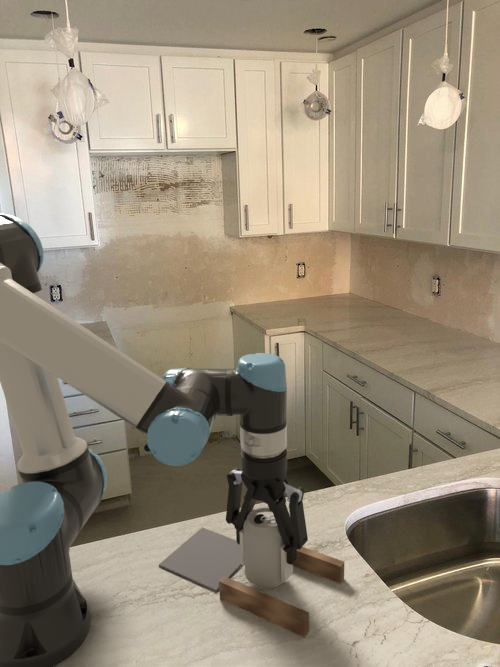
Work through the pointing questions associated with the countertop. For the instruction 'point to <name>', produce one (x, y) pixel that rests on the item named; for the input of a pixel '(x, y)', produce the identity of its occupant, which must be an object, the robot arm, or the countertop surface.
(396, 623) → the countertop surface
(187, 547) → the mat
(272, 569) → the can
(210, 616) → the countertop surface
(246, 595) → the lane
